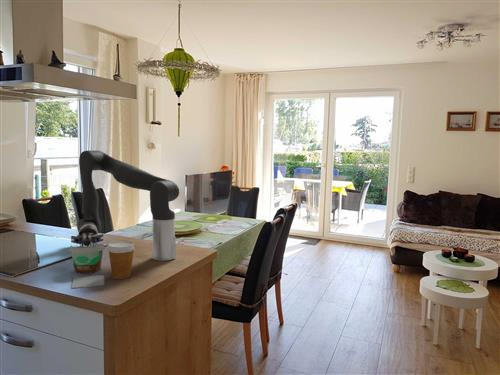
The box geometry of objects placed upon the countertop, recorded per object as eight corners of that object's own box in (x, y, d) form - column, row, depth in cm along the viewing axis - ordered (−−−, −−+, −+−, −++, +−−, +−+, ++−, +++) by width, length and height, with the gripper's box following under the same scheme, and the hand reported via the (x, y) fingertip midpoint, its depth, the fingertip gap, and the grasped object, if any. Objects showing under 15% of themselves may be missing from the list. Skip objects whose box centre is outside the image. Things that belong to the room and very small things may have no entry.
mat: (103, 275, 136) (103, 275, 136) (104, 285, 127) (104, 284, 127) (73, 278, 132) (73, 277, 132) (71, 288, 123) (71, 287, 123)
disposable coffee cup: (106, 273, 139) (106, 241, 138) (133, 270, 143) (133, 240, 142) (108, 281, 130) (108, 248, 129) (136, 278, 134) (136, 246, 133)
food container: (66, 275, 135) (66, 248, 134) (70, 270, 141) (69, 244, 140) (103, 273, 139) (102, 247, 138) (104, 268, 144) (104, 243, 143)
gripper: (71, 226, 159) (67, 235, 143) (104, 224, 164) (104, 233, 148) (71, 243, 160) (68, 254, 144) (104, 241, 165) (105, 251, 149)
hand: (86, 243), depth 146 cm, fingers closed
